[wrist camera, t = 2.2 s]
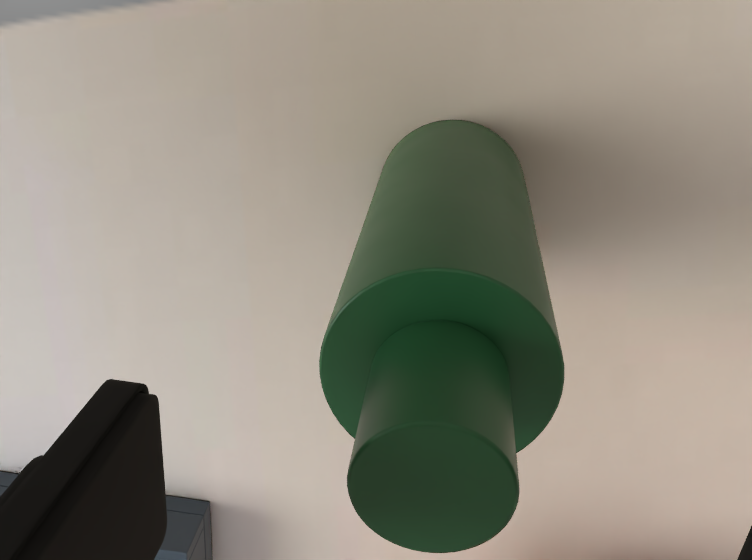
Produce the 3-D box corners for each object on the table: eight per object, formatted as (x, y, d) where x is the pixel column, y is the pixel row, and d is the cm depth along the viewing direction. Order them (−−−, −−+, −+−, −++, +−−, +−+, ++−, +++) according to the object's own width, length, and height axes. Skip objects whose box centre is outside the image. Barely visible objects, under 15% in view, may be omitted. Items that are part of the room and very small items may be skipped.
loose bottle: (386, 112, 22) (283, 343, 10) (536, 127, 21) (622, 387, 9) (374, 247, 24) (279, 575, 12) (512, 264, 24) (556, 617, 12)
